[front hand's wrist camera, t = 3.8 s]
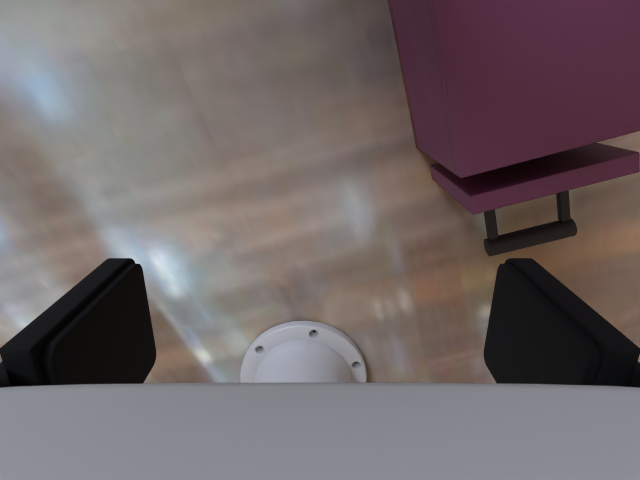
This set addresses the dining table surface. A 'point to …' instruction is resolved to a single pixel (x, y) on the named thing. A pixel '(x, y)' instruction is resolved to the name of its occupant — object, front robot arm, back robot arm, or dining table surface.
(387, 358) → the dining table surface
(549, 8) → the cabinet
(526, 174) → the drawer
